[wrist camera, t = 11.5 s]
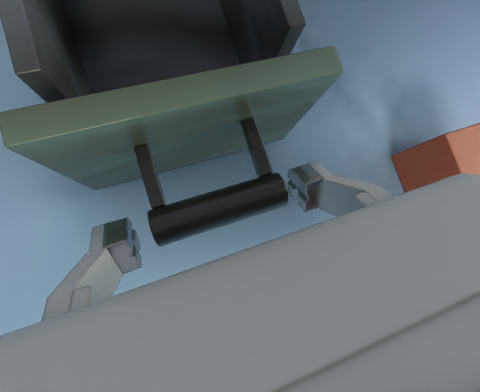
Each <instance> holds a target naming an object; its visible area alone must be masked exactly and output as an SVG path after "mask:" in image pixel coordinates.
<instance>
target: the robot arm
mask: <svg viewBox="0 0 480 392" xmlns="http://www.w3.org/2000/svg"><path fill="white" fill-rule="evenodd" d="M288 177H289V178H290V180H289V182H288V191H289V194H290V196H291V197H292V198H293V200H296V201H298V206H299V207H300V208H301V209H302V210H303V211H304V212H306V211H309V210H313V209H316V208H319V209H321V210H324V211H326V212H328V213H330V214H332V215H335V216H337V217H335V218H333V219H330V220H327V221H324V222H321V223H318V224H316V225H313V226H310V227H307V228H304V229H301V230H299V231H296V232H293V233H290V234H287V235H284V236H282V237H279V238H276V239H273V240H270V241H267V242H265V243H262V244H259V245H256V246H253V247H251V248H248V249H245V250H242V251H239V252H237V253H234V254H231V255H228V256H225V257H222V258H220V259H217V260H214V261H211V262H208V263H205V264H203V265H200V266H197V267H194V268H191V269H189V270H186V271H183V272H180V273H177V274H174V275H172V276H169V277H166V278H163V279H160V280H157V281H155V282H152V283H149V284H146V285H143V286H140V287H138V288H135V289H132V290H129V291H126V292H123V293H121V294H118V295H115V296H113V294H114V292H115V290H116V288H117V286H118V284H119V282H120V281H121V279H122V277H123V274H125V273H128V272H130V271H133V270H136V269H138V268H141V267H142V260H141V255H140V253H139V251H140V249H141V248H140V242H139V238H138V235H137V233H136V231H135V230H133V229H132V223H131V221H130V219H129V218H128V217H127V218H123V219H120V220H116V221H112V222H109V223H105V224H102V225H98V226H95V227H93V228H92V233H91V241H90V249H89V253H87V254H85V255H84V256H83V257H82V259H81V260H80V261H79V262H78V263H77V264H76V266H75V267H74V268H73V269H72V270H71V271H70V272H69V274H68V275H67V276H66V277H65V278H64V279H63V281H62V282H61V283H60V284H59V285H58V286H57V287H56V289H55V290H54V291H53V292H52V293H51V294H50V296H49V297H48V298H47V301H46V305H45V309H44V313H43V317H42V321H41V322H39V323H36V324H33V325H30V326H27V327H25V328H22V329H19V330H16V331H13V332H10V333H8V334H5V335H2V336H0V392H480V175H475V174H467V173H462V174H457V175H454V176H451V177H448V178H445V179H442V180H440V181H437V182H434V183H431V184H428V185H426V186H423V187H420V188H417V189H414V190H411V191H409V192H406V193H403V194H400V195H397V196H394V195H392V194H391V193H390V192H388V191H387V190H386V189H384V188H383V187H381V186H380V185H375V184H371V183H367V182H363V181H359V180H355V179H351V178H347V177H343V176H339V175H334V176H333V175H332V174H331V173H330V172H329V171H327V170H326V169H325V168H324V167H323V166H321V165H320V164H319V163H318V162H316V161H313V162H310V163H307V164H305V165H302V166H298V167H295V168H292V169H289V170H288Z"/></svg>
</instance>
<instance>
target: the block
mask: <svg viewBox="0 0 480 392" xmlns="http://www.w3.org/2000/svg"><path fill="white" fill-rule="evenodd" d="M391 157H392V160H393V162H394V165H395V167H396V170H397V172H398V175H399V177H400V180H401V183H402V185H403V188H404V190H405V193H406V192H409V191H411V190H414V189H417V188H420V187H423V186H426V185H428V184H431V183H434V182H437V181H440V180H442V179H445V178H448V177H451V176H454V175H457V174H462V173H467V174H475V175H480V123H478V124H475V125H472V126H469V127H466V128H462V129H459V130H456V131H453V132H449V133H446V134H443V135H441V136H438V137H436V138H434V139H431V140H429V141H426V142H424V143H421V144H419V145H417V146H414V147H412V148H409V149H407V150H404V151H402V152H400V153H397V154H395V155H392V156H391Z"/></svg>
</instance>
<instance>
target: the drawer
mask: <svg viewBox="0 0 480 392" xmlns="http://www.w3.org/2000/svg"><path fill="white" fill-rule="evenodd" d="M0 17H1V21H2V24H3V28H4V32H5V36H6V40H7V44H8V48H9V51H10V55H11V59H12V63H13V67H14V71H15V74H16V75H17V76H18V77H19V78H20V79H21V80H22V81H23V82H25V83H26V84H27V85H28V86H29V87H30V88H31V89H32V90H33V91H34V92H35V93H37V94H38V95H39V96H40V97H41V98H42V99H43V100H44V101H45V102H46V103H44V104H39V105H34V106H29V107H24V108H19V109H14V110H9V111H4V112H0V129H1V133H2V137H3V141H4V146H5V147H6V148H8V149H10V150H12V151H14V152H16V153H18V154H20V155H22V156H24V157H27V158H29V159H31V160H33V161H35V162H37V163H39V164H41V165H43V166H45V167H48V168H50V169H52V170H54V171H56V172H58V173H60V174H62V175H64V176H66V177H69V178H71V179H73V180H75V181H77V182H79V183H81V184H83V185H85V186H87V187H90V188H92V189H94V190H98V189H101V188H105V187H109V186H112V185H116V184H120V183H123V182H127V181H131V180H134V179H138V178H143V181H144V185H145V188H146V191H147V195H148V198H149V202H150V205H151V208H152V210H149V211H148V221H149V225H150V229H151V232H152V235H153V238H154V240H155V242H156V244H157V245H158V246H163V245H166V244H169V243H172V242H175V241H178V240H182V239H185V238H188V237H191V236H194V235H197V234H200V233H203V232H206V231H209V230H212V229H215V228H218V227H221V226H224V225H227V224H230V223H233V222H236V221H239V220H242V219H245V218H248V217H251V216H255V215H258V214H261V213H264V212H267V211H270V210H273V209H276V208H279V207H282V206H285V205H286V204H287V203H288V191H287V187H286V184H285V182H284V180H283V178H282V177H281V176H280V175H279V174H278V173H273V174H271V173H272V169H271V166H270V163H269V160H268V157H267V154H266V151H265V148H264V146H263V145H264V144H267V143H271V142H275V141H278V140H282V139H283V138H284V137H285V136H286V135H287V134H288V132H289V131H290V130H291V129H292V128H293V127H294V126H295V125H296V124H297V122H298V121H299V120H300V119H301V118H302V117H303V116H304V115H305V114H306V113H307V111H308V110H309V109H310V108H311V107H312V106H313V105H314V104H315V103H316V102H317V100H318V99H319V98H320V97H321V96H322V95H323V94H324V93H325V92H326V90H327V89H328V88H329V87H330V86H331V85H332V84H333V83H334V82H335V81H336V79H337V78H338V77H339V76H340V75H341V74H342V73H343V68H342V65H341V63H340V60H339V57H338V55H337V52H336V50H335V47H334V46H330V47H325V48H320V49H315V50H310V51H305V52H300V53H295V54H290V53H291V51H292V49H293V47H294V46H295V44H296V42H297V40H298V38H299V36H300V34H301V32H302V30H303V28H304V26H305V25H306V22H305V19H304V17H303V14H302V11H301V9H300V6H299V3H298V1H297V0H0ZM245 149H249V151H250V154H251V157H252V160H253V163H254V166H255V169H256V172H257V175H258V177H259V178H256V179H253V180H249V181H246V182H243V183H239V184H236V185H233V186H229V187H226V188H223V189H219V190H216V191H212V192H209V193H206V194H202V195H199V196H196V197H192V198H189V199H186V200H182V201H179V202H176V203H172V204H169V205H166V201H165V198H164V195H163V191H162V188H161V185H160V181H159V178H158V175H157V173H160V172H164V171H168V170H171V169H175V168H179V167H182V166H186V165H190V164H194V163H197V162H201V161H205V160H208V159H212V158H216V157H219V156H223V155H227V154H230V153H234V152H238V151H242V150H245Z"/></svg>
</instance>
